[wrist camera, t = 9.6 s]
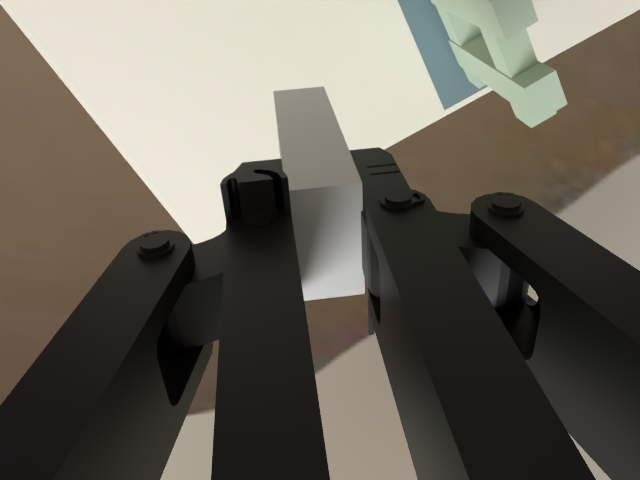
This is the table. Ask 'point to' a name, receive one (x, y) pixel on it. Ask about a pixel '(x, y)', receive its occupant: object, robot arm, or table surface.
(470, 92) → the card
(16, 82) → the table surface
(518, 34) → the fence gate
